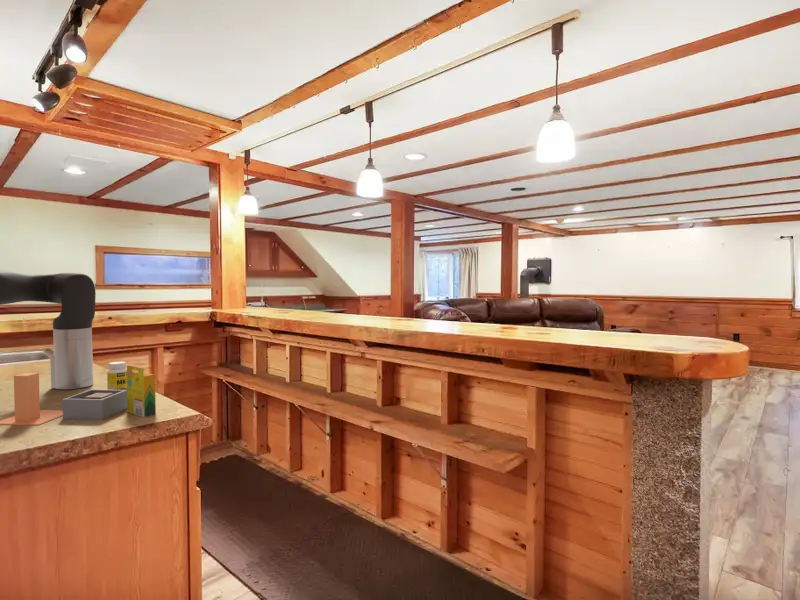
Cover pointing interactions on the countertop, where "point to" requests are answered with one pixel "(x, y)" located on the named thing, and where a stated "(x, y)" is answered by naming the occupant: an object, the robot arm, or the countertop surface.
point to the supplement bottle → (117, 376)
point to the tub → (94, 405)
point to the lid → (29, 403)
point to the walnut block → (98, 395)
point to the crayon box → (140, 392)
